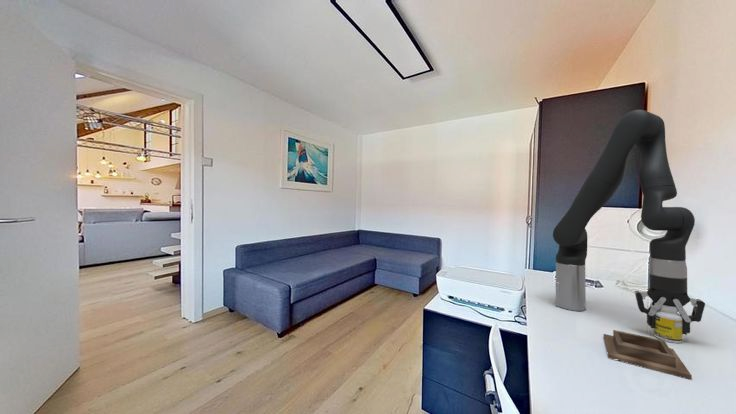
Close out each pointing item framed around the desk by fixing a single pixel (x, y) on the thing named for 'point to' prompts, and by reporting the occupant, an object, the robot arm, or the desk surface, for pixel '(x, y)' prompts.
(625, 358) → the cup holder
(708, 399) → the desk surface
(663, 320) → the supplement bottle
